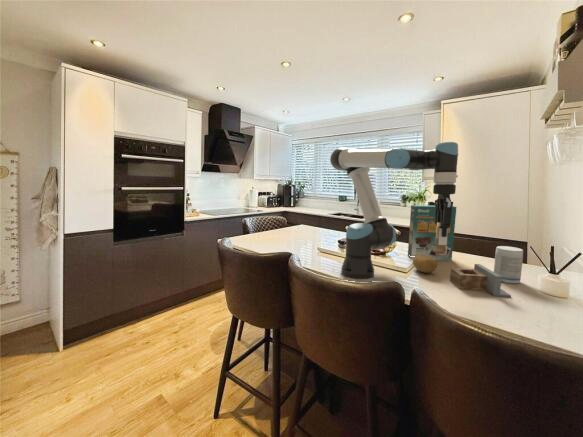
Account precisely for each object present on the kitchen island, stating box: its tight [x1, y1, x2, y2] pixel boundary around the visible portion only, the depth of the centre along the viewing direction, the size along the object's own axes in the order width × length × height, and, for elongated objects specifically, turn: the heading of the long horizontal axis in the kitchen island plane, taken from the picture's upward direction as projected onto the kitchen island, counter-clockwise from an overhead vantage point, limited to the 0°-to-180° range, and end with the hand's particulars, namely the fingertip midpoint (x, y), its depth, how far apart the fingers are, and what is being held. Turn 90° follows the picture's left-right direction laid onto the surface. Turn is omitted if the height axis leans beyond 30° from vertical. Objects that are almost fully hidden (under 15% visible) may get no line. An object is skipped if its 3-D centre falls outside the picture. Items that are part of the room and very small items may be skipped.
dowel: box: [435, 223, 446, 254], centre depth 108 cm, size 4×4×12 cm
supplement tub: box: [493, 245, 524, 284], centre depth 121 cm, size 10×10×15 cm
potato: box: [412, 255, 438, 274], centre depth 132 cm, size 10×14×8 cm
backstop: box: [473, 263, 512, 298], centre depth 112 cm, size 6×16×8 cm, turn 171°
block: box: [449, 267, 487, 292], centre depth 115 cm, size 10×9×6 cm
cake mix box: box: [407, 204, 457, 261], centre depth 155 cm, size 22×6×30 cm, turn 85°
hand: (440, 243), depth 108 cm, fingers closed on dowel, 3 cm apart
